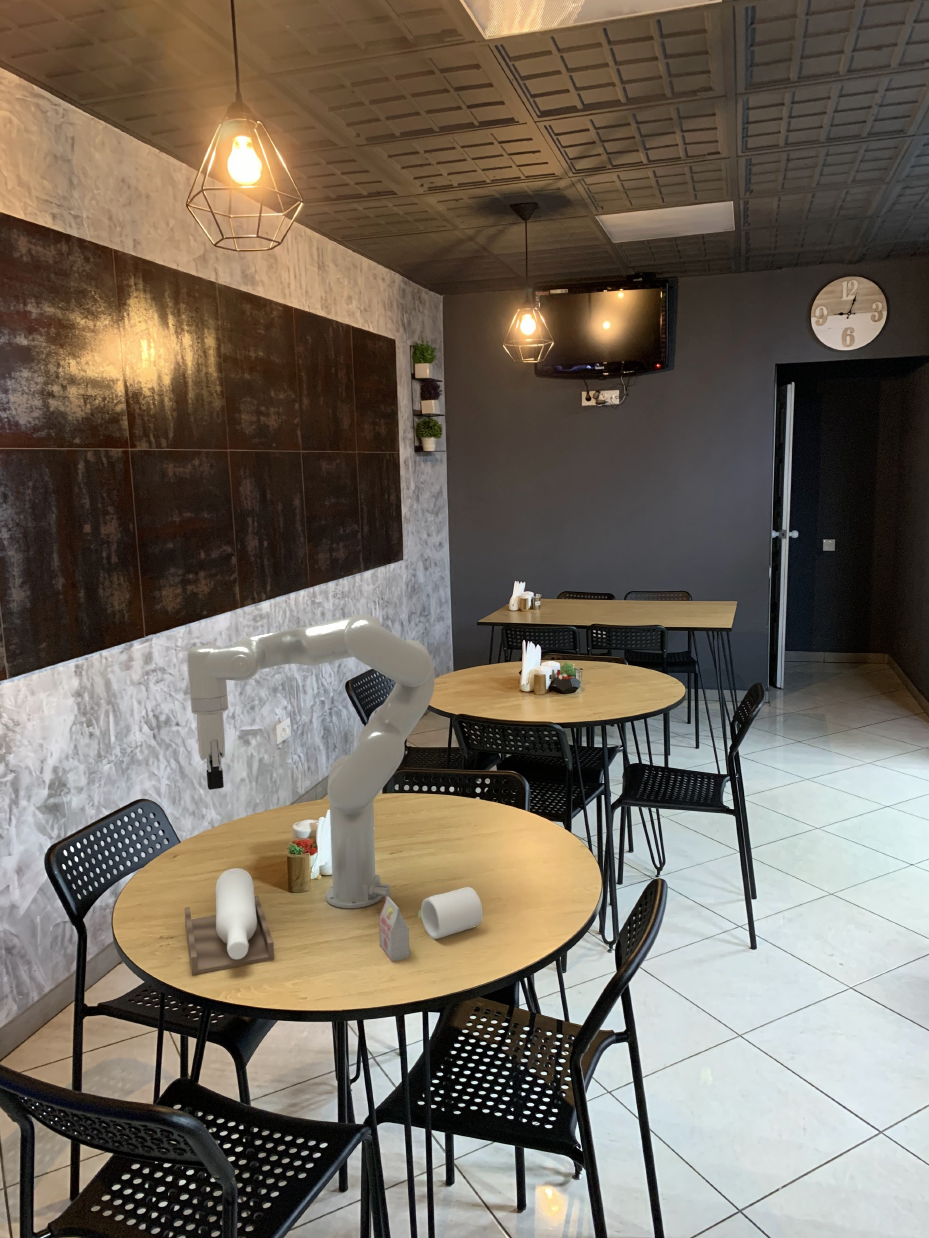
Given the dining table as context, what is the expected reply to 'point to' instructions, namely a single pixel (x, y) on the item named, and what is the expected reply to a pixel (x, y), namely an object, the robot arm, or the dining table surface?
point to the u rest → (225, 944)
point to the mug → (451, 912)
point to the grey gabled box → (393, 932)
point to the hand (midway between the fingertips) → (215, 787)
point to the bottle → (235, 911)
